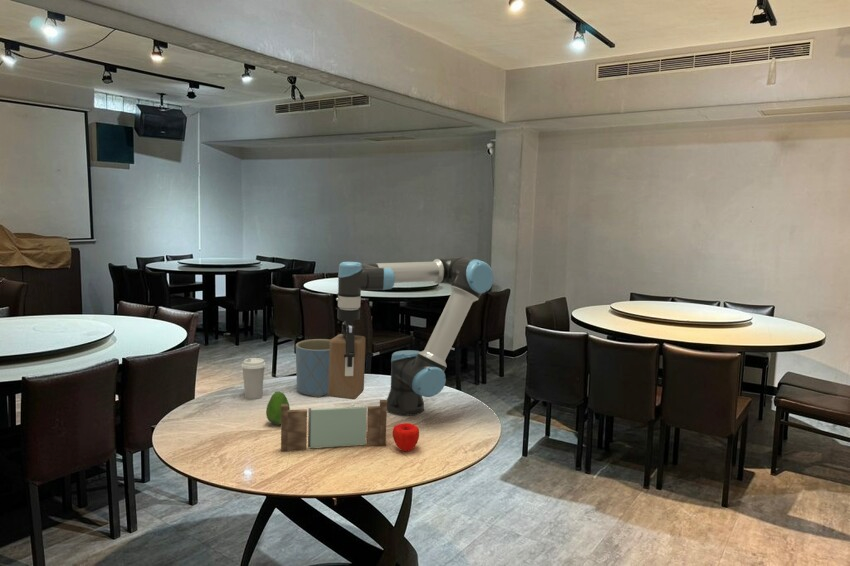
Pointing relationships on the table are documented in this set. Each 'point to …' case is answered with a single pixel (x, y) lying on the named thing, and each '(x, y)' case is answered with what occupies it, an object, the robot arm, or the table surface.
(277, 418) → the fruit
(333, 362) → the wooden block
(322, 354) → the planter
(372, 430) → the wall frame
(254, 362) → the coffee cup
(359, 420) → the door
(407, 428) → the apple
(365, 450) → the table surface
